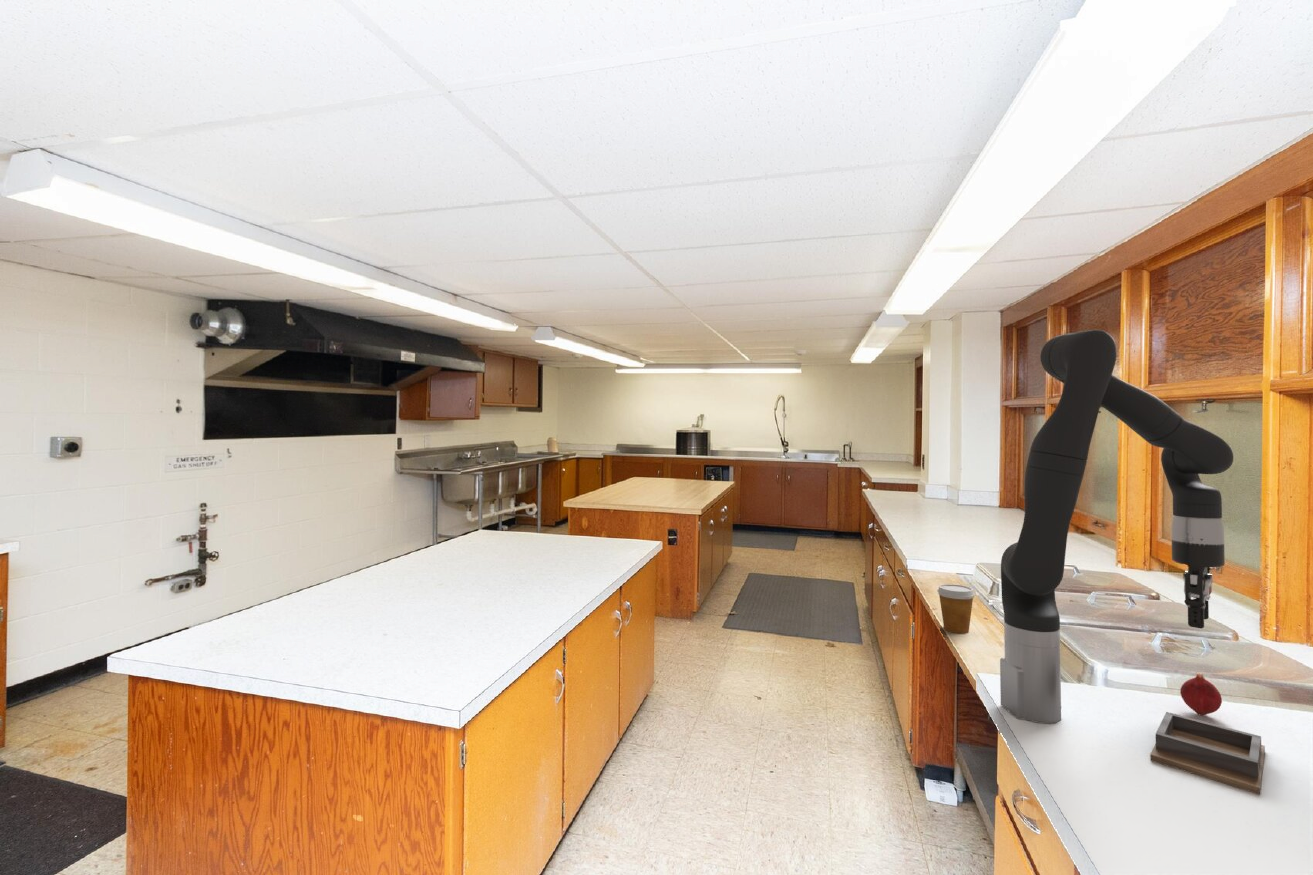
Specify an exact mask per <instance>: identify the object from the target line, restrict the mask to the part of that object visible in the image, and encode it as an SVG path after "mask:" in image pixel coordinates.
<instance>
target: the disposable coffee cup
mask: <svg viewBox="0 0 1313 875" xmlns="http://www.w3.org/2000/svg"><path fill="white" fill-rule="evenodd" d="M936 591H937V594H938V596H939V603H940V609H941V617H942V623H943V624H942V625H943V629H944V630H945V631H947V632H950V633H956V634H968V633H969V631H970V625H971V616H972V609H973V601H974V600H973V599H974V598H975V595H976V593H975V592H974V589H973V588H972V587H970V586H967V585H962V584H950V583H947V584H940V585H939V586H938V589H937V590H936Z"/></svg>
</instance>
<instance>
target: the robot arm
mask: <svg viewBox="0 0 1313 875" xmlns="http://www.w3.org/2000/svg"><path fill="white" fill-rule="evenodd" d="M1117 355H1118V348H1117V343H1116V342H1115V339H1114V338H1113V336H1111V334H1110V333H1108V332H1106V331H1105V330H1101V329H1089V330H1083V331H1077V332H1076V331H1075V332H1070V333H1064V334H1060V335H1057V336H1054V337H1052V338H1050V339H1049V340H1048V341H1047V342H1045V344H1044V345H1043V346H1042V349H1041V351H1040V358H1039V359H1040V363H1041V366H1042V368H1043V370H1044V371H1045V372H1046V373H1047V374H1048V375H1050V377H1053V378H1054V379H1055V380H1057V381H1059V382H1061V383H1063V388H1062V393H1061V395H1060V399H1059V400H1058V403H1057V405H1056V407H1055V409H1053V410H1054V411H1052V413H1051V414H1050V416H1049V417H1048V418H1047V419H1046V420H1045V422H1044V424H1043V425H1042V426H1041V428H1040V429H1039V431H1037V433H1036V435H1035V437H1034V438H1033V441H1031V442H1032V443H1031V445H1030V449H1029V453H1028V457H1027V462H1026V468H1025V472H1024V486H1023V487H1024V494H1023V495H1024V518H1023V523H1022V527H1021V530H1020V533H1019V537H1018V541H1017V542H1014V543H1011V544H1010V545H1009V546H1008V547H1007V548H1006V549H1004V552H1003V554H1002V556H1001V561H1000V583H1001V585H1000V586H1001V603H1002V610H1003V619H1004V620H1003V621H1004V622H1003V624H1004V625H1003V626H1004V636H1003V638H1004V642H1003V643H1004V657H1001V658H1000V659H999V674H1000V675H999V676H1000V678H999V681H1000V685H999V687H1000V689H999V690H1000V706H1002V707H1003V708H1005V709H1006V710H1007V711H1008V712H1009V713H1010V714H1011V715H1013V716H1014V717H1016V719H1018V720H1019V719H1020V720H1026V721H1030V722H1035V723H1041V724H1042V723H1043V724H1053V723H1057V722H1061V720H1062V691H1061V690H1062V688H1061V687H1062V686H1061V684H1062V683H1061V681H1062V680H1061V678H1062V677H1061V675H1062V674H1061V618H1060V617H1061V616H1060V614H1059V611H1058V606H1057V601H1056V592H1055V591H1056V589H1057V588H1058V586H1060V585H1061V582H1062V580H1063V578H1064V574H1065V573H1064V572H1065V562H1066V554H1067V553H1066V551H1067V543H1068V534H1069V529H1070V524H1071V521H1072V518H1073V515H1074V511H1075V508H1076V505H1077V501H1078V497H1079V494H1080V489H1081V486H1082V483H1083V479H1084V475H1085V470H1086V466H1087V462H1088V461H1087V460H1088V458H1089V452H1090V447H1091V443H1092V439H1093V438H1092V437H1093V434H1094V432H1095V427H1096V422H1097V419H1098V415H1099V412H1100V408H1104V409H1105V410H1107V411H1108V412H1109V413H1110V414H1112V415H1113V416H1115V417H1116V418H1118V419H1119V421H1121V422H1122V423H1124V424H1125V425H1126V426H1128V427H1129V428H1130V429H1131V430H1132V431H1133V432H1135V433H1136V434H1137V435H1138V436H1139V437H1141V438H1142V439H1143V440H1144V441H1146V442H1147V444H1148V443H1149V445H1152V446H1153V447H1156V448H1162V452H1161V455H1160V456H1161V457H1160V461H1161V466H1162V469H1163V472H1164V475H1165V478H1166V481H1167V484H1168V487H1169V490H1170V491H1171V494H1172V521H1171V532H1170V533H1171V560H1172V561H1173V562H1174V563H1177V564H1179V565H1180V564H1181V565H1187V570H1185V571H1184V573H1183V574H1182V579H1183V582H1184V585H1183V594H1184V603H1185V606H1186V607H1187V625H1188V626H1189V627H1191V628H1196V629H1203V628H1204V627H1205V620H1208V619H1209V617H1210V616H1209V607H1210V606H1209V601H1210V599H1211V594H1212V593H1213V592H1212V590H1213V581H1214V576H1213V574H1212V573H1211V568H1221V567H1224V566H1225V564H1226V562H1225V528H1224V524H1223V502H1222V500H1223V499H1222V494H1221V492H1220V490H1218V489H1217V488H1216V487H1212V486H1209V485H1205V483H1203V482H1202V480H1201V477H1200V475H1217V474H1221V473H1224V472H1225V471H1227V470H1228V469H1230V468H1231V467H1232V464H1233V462H1234V453H1233V450H1232V448H1231V447H1230V445H1229V444H1228V443H1227V442H1226V441H1225V440H1224V439H1223V438H1222V437H1220V436H1218V435H1217V434H1215V433H1214V432H1211V431H1210V430H1207V429H1205V428H1204V427H1202V426H1199V425H1197V424H1195V423H1193V422H1190V421H1188V420H1186V419H1185V418H1183V416H1181V415H1180V414H1179V413H1178V412H1177V411H1175V409H1173V408H1172V407H1170V406H1169V405H1168V404H1167V403H1166V402H1165V401H1163V400H1162V399H1161V398H1159V397H1157V396H1155V395H1154V394H1152V393H1150V392H1148V391H1146V390H1143V389H1142V388H1139V387H1137V386H1135V385H1133V384H1131V383H1129V382H1126V381H1125V380H1123V379H1121V378H1119V377H1117V376H1116V375H1114V374H1113V372H1114V369H1115V366H1116V362H1117V357H1118V356H1117Z"/></svg>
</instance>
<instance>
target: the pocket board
mask: <svg viewBox="0 0 1313 875" xmlns="http://www.w3.org/2000/svg"><path fill="white" fill-rule="evenodd" d="M1265 751H1266V746H1265V745H1263V744H1262V736H1261V735H1257V734H1255V733H1249V732H1246V731H1242V730H1239V729H1235V728H1230V727H1227V726H1226V727H1225V726H1222V725H1219V724H1215V723H1211V722H1207V721H1203V720H1200V719H1196V718H1191V717H1188V716H1184V715H1181V714H1176V713H1173V712H1169V711H1166V712H1165V714H1164V715H1163V718H1162V720H1161V722H1160V724H1159V726H1158V728H1157V730H1156V732H1155V743H1154V746H1153V748H1152V751H1151V752H1150V758H1149V759H1150V761H1151V762H1154V761H1155V762H1156V763H1157V764H1162V765H1165V766H1167V765H1168V766H1167V767H1171V768H1174V769H1176V770H1180V771H1184V772H1187V773H1190V774H1193V775H1196V776H1200V777H1203V778H1206V779H1210V780H1212V781H1215V782H1219V783H1222V784H1224V785H1228V786H1231V787H1235V788H1238V789H1241V790H1244V791H1248V792H1251V793H1254V794H1256V795H1257V794H1258V795H1261V790H1262V789H1261V788H1262V780H1263V772H1264V762H1265V754H1266V752H1265ZM1155 762H1154V763H1155Z"/></svg>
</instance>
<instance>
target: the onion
mask: <svg viewBox="0 0 1313 875" xmlns="http://www.w3.org/2000/svg"><path fill="white" fill-rule="evenodd" d="M1179 692H1180V697H1181V699H1182V701H1183V702H1184V703H1185V704H1186V705H1187V707H1189V709H1191V710H1192V711H1193V712H1195V714H1196V715H1197V714H1198V715H1199V714H1200V715H1199V716H1206V715H1210V714H1213V713H1215V712H1217V711H1218V710H1219V709H1220V708H1221V706H1222V703H1223V699H1222V695H1221V693H1220V692H1219V690H1218V689H1217V687H1216V686H1215V685H1214V684H1213V683H1212V682H1210V681H1209V680H1207V679H1206V678H1205V677H1204V675H1203V674H1202V673H1201V672H1197V673H1196V675H1195V677H1192V678H1191V679H1190V678H1189V679H1188V680H1186V681H1185V682H1183V684H1182V685H1181V687H1180V691H1179Z"/></svg>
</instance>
